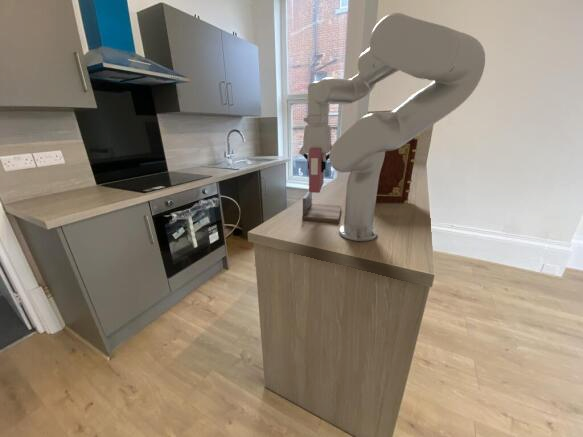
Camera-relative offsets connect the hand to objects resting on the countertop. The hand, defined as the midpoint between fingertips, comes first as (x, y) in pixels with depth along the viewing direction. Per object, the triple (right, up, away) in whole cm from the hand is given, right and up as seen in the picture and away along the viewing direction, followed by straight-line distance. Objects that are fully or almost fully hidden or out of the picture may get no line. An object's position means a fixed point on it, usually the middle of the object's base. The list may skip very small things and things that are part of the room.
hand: (316, 170), depth 94 cm
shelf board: (+3, -17, +6) cm, 19 cm away
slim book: (0, -6, +3) cm, 7 cm away
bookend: (-3, -15, +7) cm, 17 cm away
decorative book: (+34, -10, +22) cm, 42 cm away
